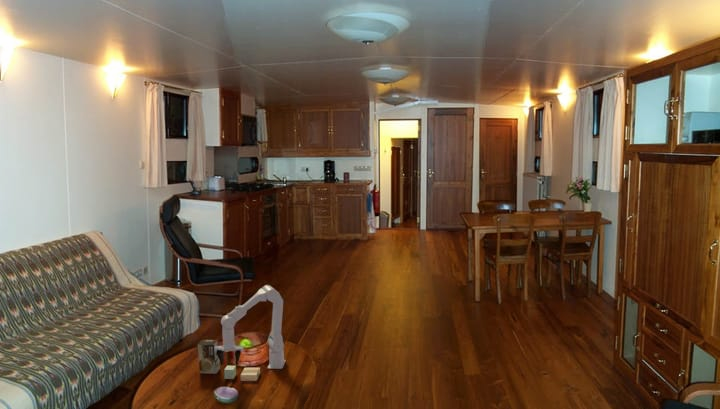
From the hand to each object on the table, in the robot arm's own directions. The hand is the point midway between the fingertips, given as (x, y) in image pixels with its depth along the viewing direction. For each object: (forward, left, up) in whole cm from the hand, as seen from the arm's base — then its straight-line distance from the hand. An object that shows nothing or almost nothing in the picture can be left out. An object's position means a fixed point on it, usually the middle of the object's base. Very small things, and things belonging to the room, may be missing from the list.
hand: (229, 364), depth 256 cm
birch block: (0, +11, -7) cm, 13 cm away
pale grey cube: (0, 0, -7) cm, 7 cm away
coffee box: (-6, -13, -7) cm, 16 cm away
